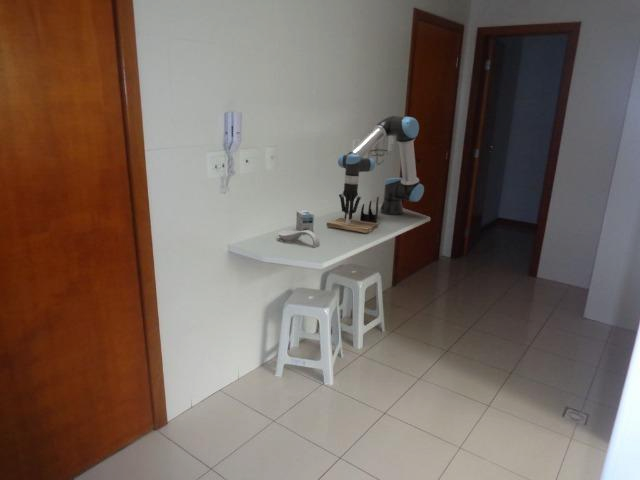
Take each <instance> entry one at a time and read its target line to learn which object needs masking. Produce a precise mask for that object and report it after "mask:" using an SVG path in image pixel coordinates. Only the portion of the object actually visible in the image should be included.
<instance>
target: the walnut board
mask: <svg viewBox="0 0 640 480" xmlns="http://www.w3.org/2000/svg"><path fill="white" fill-rule="evenodd" d="M334 221H339V222H345V223H346V219H345V217H339V218H337V219H335V220H334ZM350 223H351V224H357V225H363V226H369V227H372V231H374V230H375V229H376V228H378V227H379V223H378V222H376V223H372V222H366V221H360V219H359V220H358V219H353V218H352V219H351V220H350Z"/></svg>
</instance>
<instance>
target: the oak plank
mask: <svg viewBox="0 0 640 480" xmlns="http://www.w3.org/2000/svg"><path fill="white" fill-rule="evenodd" d="M326 227H330V228H336V229H341V230H342V229H343V230H348V231H354V232H359V233H369V232H371V231H373V230H372V227H369V226H363V225H357V224H351V223H350V225H346V223H345V222H339V221H335V220H331V221H328V222H326Z"/></svg>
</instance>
